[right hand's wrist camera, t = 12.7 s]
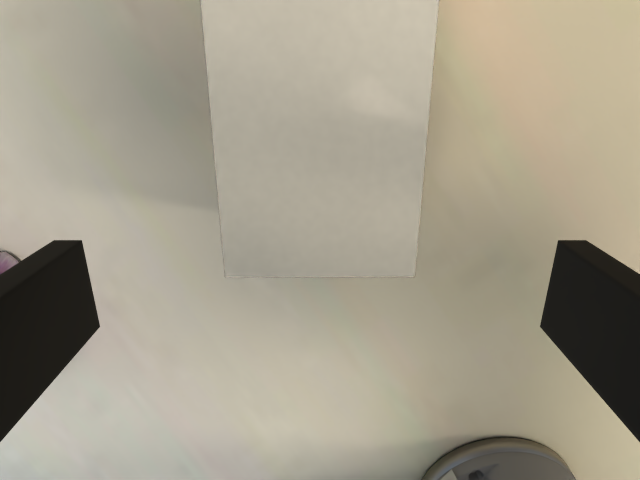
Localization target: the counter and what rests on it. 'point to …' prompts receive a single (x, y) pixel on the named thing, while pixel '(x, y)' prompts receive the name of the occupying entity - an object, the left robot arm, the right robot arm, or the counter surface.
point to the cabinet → (319, 133)
